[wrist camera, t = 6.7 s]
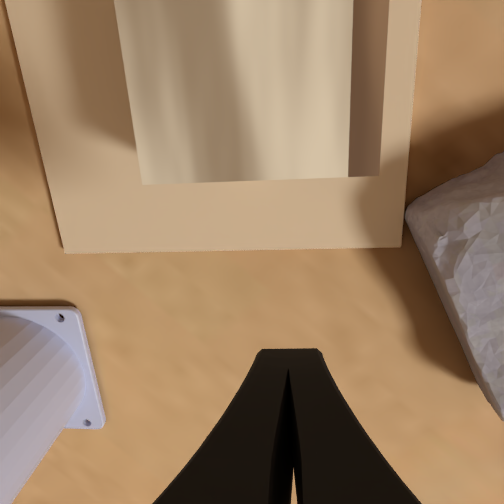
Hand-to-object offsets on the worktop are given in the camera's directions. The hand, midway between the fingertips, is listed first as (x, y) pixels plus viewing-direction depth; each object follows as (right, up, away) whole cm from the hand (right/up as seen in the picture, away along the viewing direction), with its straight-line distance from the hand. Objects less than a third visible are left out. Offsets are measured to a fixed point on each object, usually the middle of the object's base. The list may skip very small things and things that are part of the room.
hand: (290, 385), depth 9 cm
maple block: (-5, +11, +5) cm, 13 cm away
